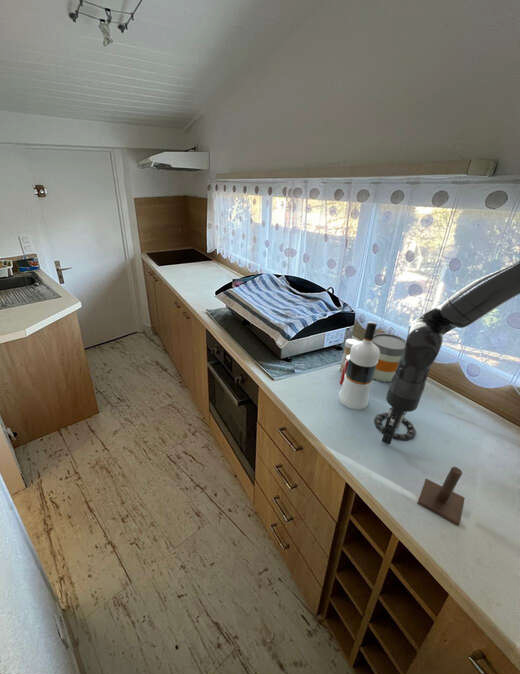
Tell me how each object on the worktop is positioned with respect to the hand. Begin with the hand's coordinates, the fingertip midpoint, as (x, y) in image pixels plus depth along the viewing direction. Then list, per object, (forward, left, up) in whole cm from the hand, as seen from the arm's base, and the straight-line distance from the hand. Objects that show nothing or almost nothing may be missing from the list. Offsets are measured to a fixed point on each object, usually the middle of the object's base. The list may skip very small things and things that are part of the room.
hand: (389, 434), depth 89 cm
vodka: (+14, -9, -1) cm, 16 cm away
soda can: (+19, -17, -1) cm, 25 cm away
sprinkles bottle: (+23, -26, -2) cm, 34 cm away
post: (-15, +13, -1) cm, 20 cm away
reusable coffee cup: (+12, -32, -1) cm, 34 cm away
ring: (0, -5, 0) cm, 5 cm away
